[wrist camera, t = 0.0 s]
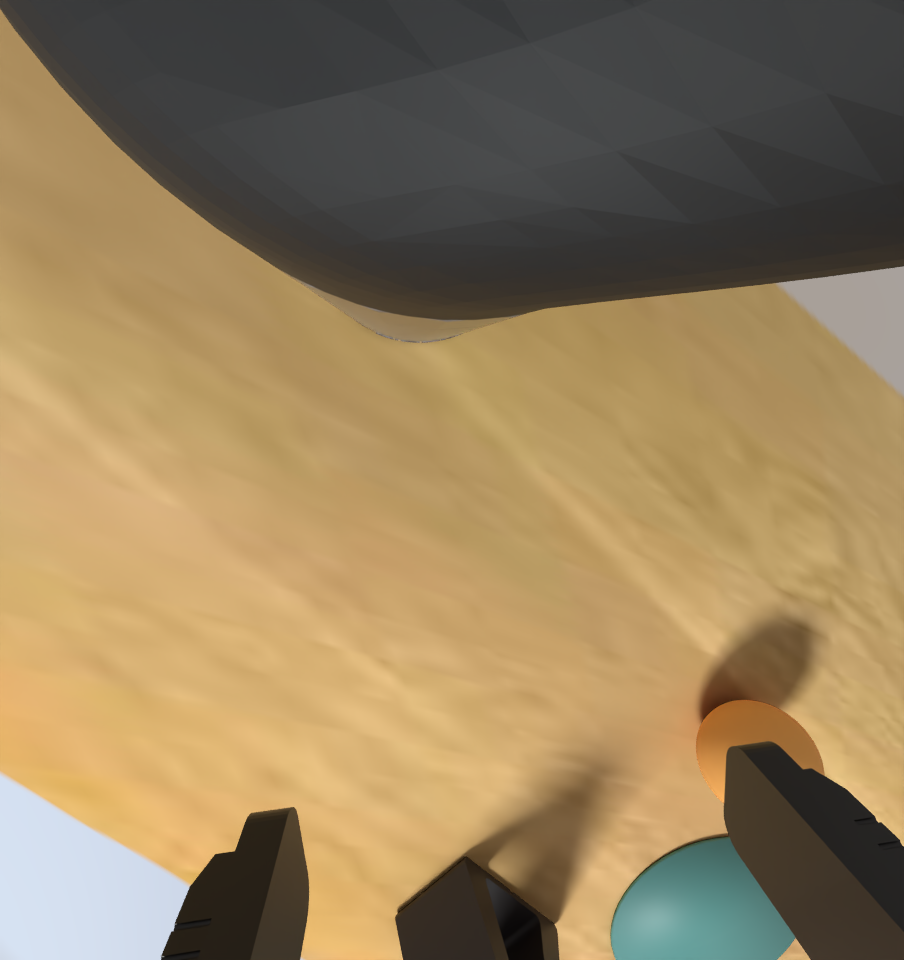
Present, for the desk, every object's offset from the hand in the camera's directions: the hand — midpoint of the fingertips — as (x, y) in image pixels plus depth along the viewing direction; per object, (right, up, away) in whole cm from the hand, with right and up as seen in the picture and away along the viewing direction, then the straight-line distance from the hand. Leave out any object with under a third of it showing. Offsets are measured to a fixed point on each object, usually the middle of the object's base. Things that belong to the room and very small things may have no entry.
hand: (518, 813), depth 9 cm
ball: (+15, -9, +19) cm, 26 cm away
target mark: (+16, -24, +25) cm, 39 cm away
